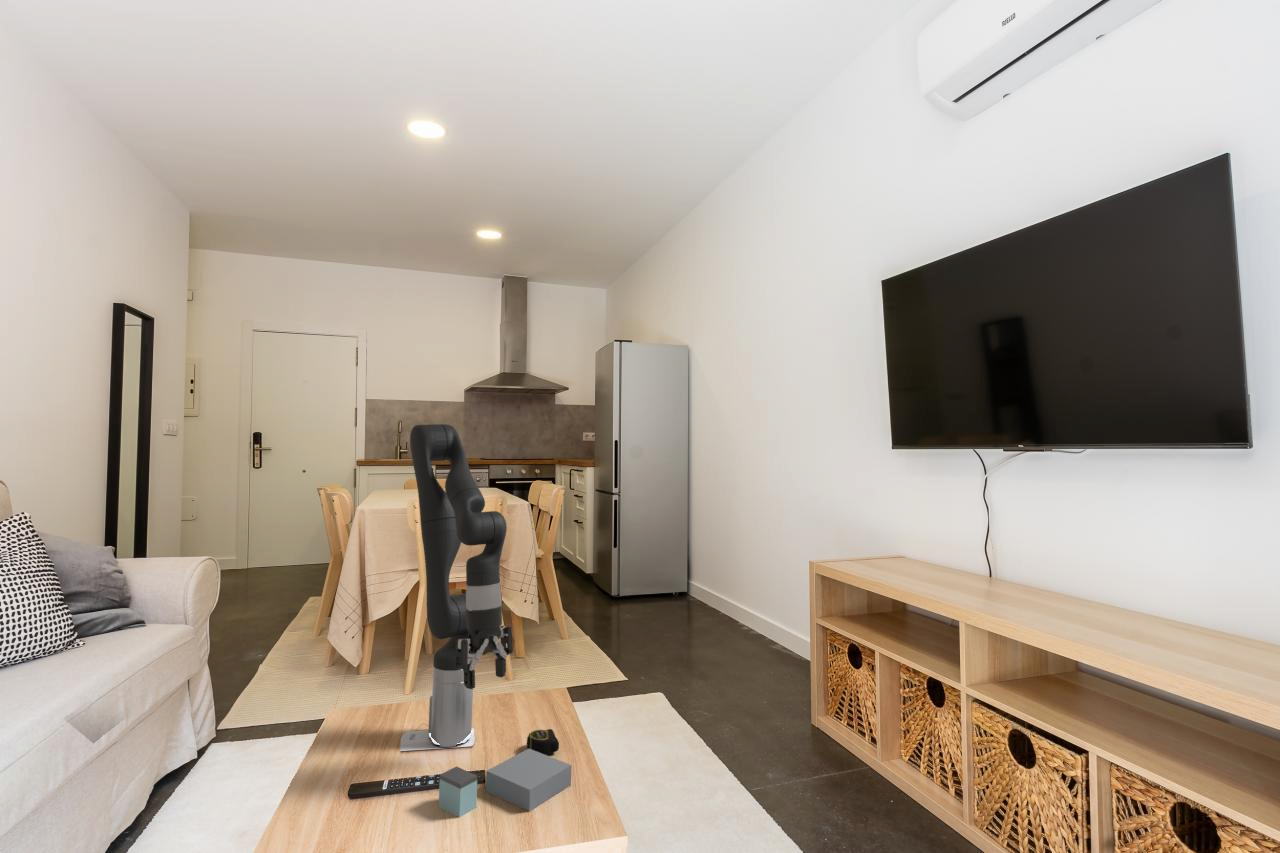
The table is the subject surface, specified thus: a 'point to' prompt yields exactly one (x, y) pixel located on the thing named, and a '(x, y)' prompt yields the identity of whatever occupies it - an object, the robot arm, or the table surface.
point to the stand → (528, 779)
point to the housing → (458, 791)
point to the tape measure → (543, 741)
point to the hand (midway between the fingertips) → (485, 682)
